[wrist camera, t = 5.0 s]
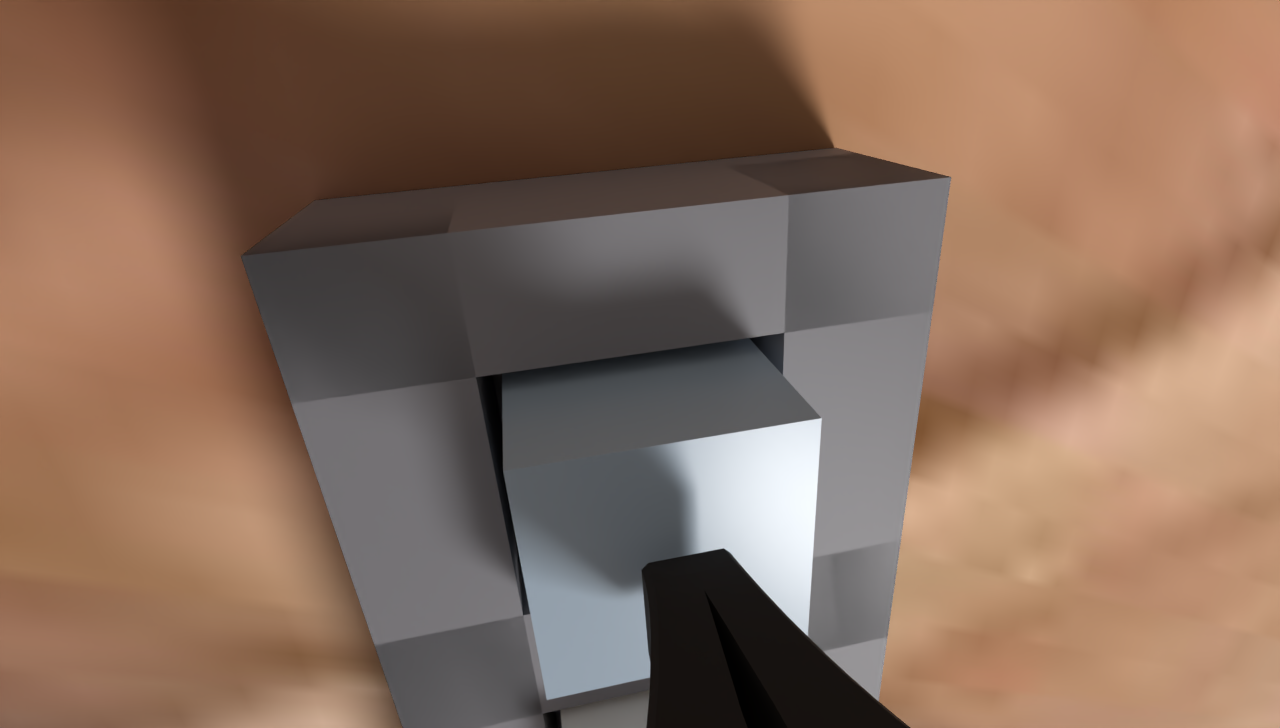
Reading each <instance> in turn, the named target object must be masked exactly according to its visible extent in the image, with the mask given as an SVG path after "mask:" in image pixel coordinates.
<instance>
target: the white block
mask: <svg viewBox="0 0 1280 728" xmlns="http://www.w3.org/2000/svg"><path fill="white" fill-rule="evenodd" d="M649 691H650V690H647V691H642V692H638V693H633V694H629V695H624V696H620V697H615V698H611V699H606V700H602V701H597V702H593V703H588V704H584V705H579V706H575V707H570V708H566V709H561V710H560V713H561V723H562V728H646V726H647V715H648V704H649Z"/></svg>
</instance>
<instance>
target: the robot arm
mask: <svg viewBox="0 0 1280 728" xmlns="http://www.w3.org/2000/svg"><path fill="white" fill-rule="evenodd" d="M641 572H642V583H643V595H644V607H645V618H646V630H647V642H648V653H649V658H650V691H649V704H648V715H647V726H646V728H910V727H909V726H907V725H906V724H905V723H904V722H903V721H901V720H900V719H899V718H898V717H896V716H895V715H894V714H893V713H892V712H891V711H889V710H888V709H887V708H886V707H885V706H883V705H882V704H881V703H880V702H879V701H877V700H876V699H875V698H874V697H873V696H872V695H871V694H869V693H868V692H867V691H866V690H865V689H864V688H863V687H862V686H860V685H859V684H858V683H857V682H856V681H855V680H854V679H852V678H851V677H850V676H849V675H848V674H847V673H846V672H845V671H844V670H843V669H841V668H840V667H839V666H838V665H837V664H836V663H835V662H834V661H833V660H832V659H831V658H830V657H828V656H827V655H826V654H825V653H824V652H823V651H822V650H821V649H820V648H819V647H818V646H817V645H816V644H815V643H814V642H813V641H812V640H811V639H810V638H809V637H808V636H807V635H806V634H805V633H804V632H803V631H802V630H801V629H800V628H799V627H798V626H797V625H796V624H795V623H794V622H793V621H792V620H791V619H790V618H789V617H788V616H787V615H786V614H785V613H784V612H783V611H782V610H781V609H780V608H779V607H778V606H777V605H776V604H775V603H774V601H773V600H772V599H771V598H770V597H769V596H768V595H767V594H766V593H765V592H764V591H763V590H762V589H761V587H760V586H759V585H758V584H757V583H756V582H755V581H754V580H753V579H752V577H751V576H750V575H749V574H748V573H747V572H746V571H745V570H744V568H743V567H742V566H741V565H740V564H739V563H738V561H737V560H736V559H735V558H734V557H733V555H732V554H731V553H730V552H728V551H727V550H725V549H724V548H723V549H717V550H712V551H707V552H702V553H697V554H691V555H686V556H681V557H676V558H671V559H666V560H660V561H655V562H650V563H648V564H647V565H646V566H645V567H644V568H643V569H642V570H641Z"/></svg>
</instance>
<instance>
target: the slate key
mask: <svg viewBox="0 0 1280 728" xmlns="http://www.w3.org/2000/svg"><path fill="white" fill-rule="evenodd" d="M502 419H503V473H504V478H505V484H506V489H507V494H508V499H509V504H510V510H511V515H512V520H513V525H514V531H515V536H516V541H517V546H518V552H519V557H520V562H521V567H522V572H523V578H524V583H525V588H526V593H527V599H528V604H529V609H530V614H531V620H532V625H533V630H534V635H535V641H536V646H537V651H538V656H539V661H540V667H541V672H542V677H543V682H544V688H545V693H546V698H547V700H549V699H554V698H559V697H563V696H568V695H572V694H577V693H581V692H586V691H590V690H595V689H600V688H604V687H609V686H613V685H618V684H622V683H627V682H631V681H636V680H640V679H645V678H650V658H649V653H648V642H647V630H646V618H645V607H644V595H643V583H642V572H641V570H642V569H643V568H644V567H645V566H646V565H647V564H648V563H650V562H655V561H660V560H666V559H671V558H676V557H681V556H686V555H691V554H697V553H702V552H707V551H712V550H717V549H723V548H724V549H725V550H727V551H728V552H730V553H731V554H732V555H733V557H734V558H735V559H736V560H737V561H738V563H739V564H740V565H741V566H742V567H743V568H744V570H745V571H746V572H747V573H748V574H749V575H750V576H751V577H752V579H753V580H754V581H755V582H756V583H757V584H758V585H759V586H760V587H761V589H762V590H763V591H764V592H765V593H766V594H767V595H768V596H769V597H770V598H771V599H772V600H773V601H774V603H775V604H776V605H777V606H778V607H779V608H780V609H781V610H782V611H783V612H784V613H785V614H786V615H787V616H788V617H789V618H790V619H791V620H792V621H793V622H794V623H795V624H796V625H797V626H798V627H799V628H800V629H801V630H802V631H803V632H804V633H805V634H806V635H807V636H808V625H809V609H810V593H811V578H812V562H813V547H814V531H815V515H816V500H817V484H818V469H819V453H820V437H821V422H822V418H821V417H820V416H819V415H818V413H817V412H816V411H815V410H814V409H813V408H812V407H811V406H810V405H809V404H808V402H807V401H806V400H805V399H804V398H803V397H802V396H801V395H800V394H799V393H798V391H797V390H796V389H795V388H794V387H793V386H792V385H791V384H790V383H789V382H788V380H787V379H786V378H785V377H784V376H783V375H782V374H781V373H780V372H779V371H778V369H777V368H776V367H775V366H774V365H773V364H772V363H771V362H770V361H769V360H768V358H767V357H766V356H765V355H764V354H763V353H762V352H761V351H760V350H759V349H758V347H757V346H756V345H755V344H754V343H753V342H752V341H751V340H750V339H749V338H745V339H738V340H731V341H724V342H717V343H710V344H704V345H697V346H690V347H683V348H676V349H669V350H662V351H655V352H648V353H641V354H634V355H627V356H620V357H613V358H606V359H599V360H592V361H586V362H579V363H572V364H565V365H558V366H551V367H544V368H537V369H530V370H523V371H516V372H509V373H502Z"/></svg>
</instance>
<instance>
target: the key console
mask: <svg viewBox="0 0 1280 728" xmlns="http://www.w3.org/2000/svg"><path fill="white" fill-rule="evenodd" d="M950 181H951V177H949V176H945V175H941V174H937V173H933V172H929V171H925V170H921V169H917V168H913V167H909V166H905V165H901V164H898V163H894V162H890V161H886V160H882V159H878V158H874V157H870V156H866V155H862V154H858V153H854V152H850V151H846V150H843V149H839V148H828V149H819V150H809V151H799V152H789V153H779V154H769V155H759V156H749V157H739V158H729V159H719V160H709V161H700V162H690V163H680V164H670V165H660V166H650V167H640V168H630V169H620V170H610V171H600V172H590V173H581V174H571V175H561V176H551V177H541V178H531V179H521V180H511V181H501V182H491V183H481V184H471V185H462V186H452V187H442V188H432V189H422V190H412V191H402V192H392V193H382V194H372V195H362V196H352V197H343V198H333V199H323V200H314V201H313V202H312V203H310V204H309V205H308V206H306V207H305V208H304V209H302V210H301V211H300V212H298V213H297V214H296V215H294V216H293V217H292V218H290V219H289V220H288V221H287V222H285V223H284V224H283V225H281V226H280V227H279V228H277V229H276V230H275V231H273V232H272V233H271V234H269V235H268V236H267V237H265V238H264V239H263V240H261V241H260V242H259V243H257V244H256V245H255V246H253V247H252V248H251V249H249V250H248V251H247V252H245V253H244V254H243V255H241V258H242V261H243V264H244V267H245V270H246V273H247V276H248V279H249V282H250V285H251V288H252V290H253V293H254V296H255V299H256V302H257V305H258V308H259V311H260V314H261V317H262V320H263V322H264V325H265V328H266V331H267V334H268V337H269V340H270V343H271V346H272V349H273V352H274V354H275V357H276V360H277V363H278V366H279V369H280V372H281V375H282V378H283V381H284V384H285V386H286V389H287V392H288V395H289V398H290V401H291V404H292V407H293V410H294V413H295V416H296V418H297V421H298V424H299V427H300V430H301V433H302V436H303V439H304V442H305V445H306V448H307V450H308V453H309V456H310V459H311V462H312V465H313V468H314V471H315V474H316V477H317V480H318V482H319V485H320V488H321V491H322V494H323V497H324V500H325V503H326V506H327V509H328V512H329V515H330V517H331V520H332V523H333V526H334V529H335V532H336V535H337V538H338V541H339V544H340V547H341V549H342V552H343V555H344V558H345V561H346V564H347V567H348V570H349V573H350V576H351V579H352V581H353V584H354V587H355V590H356V593H357V596H358V599H359V602H360V605H361V608H362V611H363V613H364V616H365V619H366V622H367V625H368V628H369V631H370V634H371V637H372V640H373V643H374V645H375V648H376V651H377V654H378V657H379V660H380V663H381V666H382V669H383V672H384V675H385V677H386V680H387V683H388V686H389V689H390V692H391V695H392V698H393V701H394V704H395V707H396V709H397V712H398V715H399V718H400V721H401V724H402V727H403V728H562V723H561V713H560V710H561V709H566V708H570V707H575V706H579V705H584V704H588V703H593V702H597V701H602V700H606V699H611V698H615V697H620V696H624V695H629V694H633V693H638V692H642V691H647V690H650V678H645V679H640V680H636V681H631V682H627V683H622V684H618V685H613V686H609V687H604V688H600V689H595V690H590V691H586V692H581V693H577V694H572V695H568V696H563V697H559V698H554V699H549V700H547V698H546V693H545V688H544V682H543V677H542V672H541V667H540V661H539V656H538V651H537V646H536V641H535V635H534V630H533V625H532V620H531V614H530V609H529V604H528V599H527V593H526V588H525V583H524V578H523V572H522V567H521V562H520V557H519V552H518V546H517V541H516V536H515V531H514V525H513V520H512V515H511V510H510V504H509V499H508V494H507V489H506V484H505V478H504V473H503V419H502V373H509V372H516V371H523V370H530V369H537V368H544V367H551V366H558V365H565V364H572V363H579V362H586V361H592V360H599V359H606V358H613V357H620V356H627V355H634V354H641V353H648V352H655V351H662V350H669V349H676V348H683V347H690V346H697V345H704V344H710V343H717V342H724V341H731V340H738V339H745V338H749V339H750V340H751V341H752V342H753V343H754V344H755V345H756V346H757V347H758V349H759V350H760V351H761V352H762V353H763V354H764V355H765V356H766V357H767V358H768V360H769V361H770V362H771V363H772V364H773V365H774V366H775V367H776V368H777V369H778V371H779V372H780V373H781V374H782V375H783V376H784V377H785V378H786V379H787V380H788V382H789V383H790V384H791V385H792V386H793V387H794V388H795V389H796V390H797V391H798V393H799V394H800V395H801V396H802V397H803V398H804V399H805V400H806V401H807V402H808V404H809V405H810V406H811V407H812V408H813V409H814V410H815V411H816V412H817V413H818V415H819V416H820V417H821V418H822V422H821V437H820V453H819V469H818V484H817V500H816V515H815V531H814V547H813V562H812V578H811V593H810V609H809V625H808V637H809V638H810V639H811V640H812V641H813V642H814V643H815V644H816V645H817V646H818V647H819V648H820V649H821V650H822V651H823V652H824V653H825V654H826V655H827V656H828V657H830V658H831V659H832V660H833V661H834V662H835V663H836V664H837V665H838V666H839V667H840V668H841V669H843V670H844V671H845V672H846V673H847V674H848V675H849V676H850V677H851V678H852V679H854V680H855V681H856V682H857V683H858V684H859V685H860V686H862V687H863V688H864V689H865V690H866V691H867V692H868V693H869V694H871V695H872V696H873V697H874V698H875V699H876V700H877V701H879V694H880V686H881V679H882V672H883V665H884V658H885V650H886V643H887V636H888V629H889V621H890V614H891V607H892V600H893V593H894V585H895V578H896V571H897V564H898V557H899V549H900V542H901V535H902V528H903V520H904V513H905V506H906V499H907V492H908V484H909V477H910V470H911V463H912V455H913V448H914V441H915V434H916V427H917V419H918V412H919V405H920V398H921V391H922V383H923V376H924V369H925V362H926V354H927V347H928V340H929V333H930V326H931V318H932V311H933V304H934V297H935V289H936V282H937V275H938V268H939V261H940V253H941V246H942V239H943V232H944V225H945V217H946V210H947V203H948V196H949V188H950Z"/></svg>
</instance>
